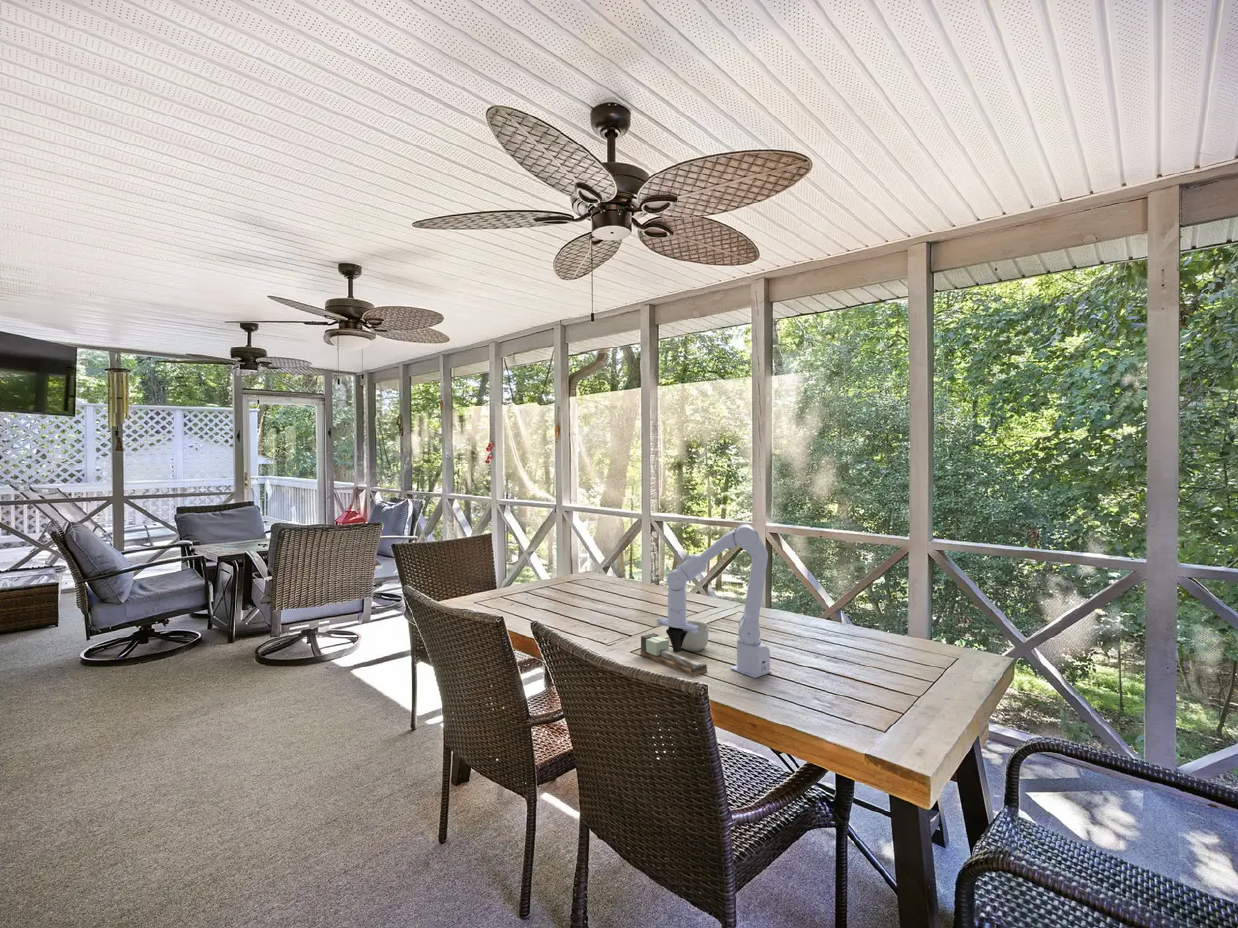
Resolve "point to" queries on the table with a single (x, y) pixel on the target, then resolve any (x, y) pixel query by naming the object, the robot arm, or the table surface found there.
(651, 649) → the carriage
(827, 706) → the table surface
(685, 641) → the teacup
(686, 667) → the rail
